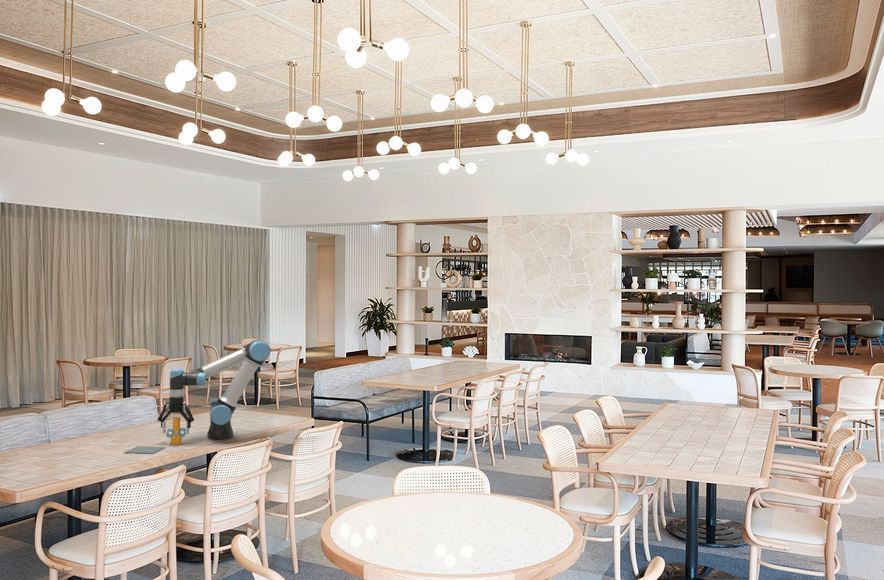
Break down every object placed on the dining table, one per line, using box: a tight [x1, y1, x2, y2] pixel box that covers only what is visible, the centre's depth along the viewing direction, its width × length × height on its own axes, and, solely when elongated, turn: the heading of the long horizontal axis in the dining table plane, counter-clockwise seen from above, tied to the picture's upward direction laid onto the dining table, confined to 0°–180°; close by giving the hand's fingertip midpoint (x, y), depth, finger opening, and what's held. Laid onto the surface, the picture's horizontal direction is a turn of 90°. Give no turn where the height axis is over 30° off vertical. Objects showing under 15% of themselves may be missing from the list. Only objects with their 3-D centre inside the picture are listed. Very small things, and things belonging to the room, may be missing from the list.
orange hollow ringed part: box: [165, 416, 187, 446], centre depth 401 cm, size 12×10×15 cm
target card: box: [124, 445, 166, 455], centre depth 385 cm, size 16×14×1 cm
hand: (175, 433), depth 401 cm, fingers open, 13 cm apart
